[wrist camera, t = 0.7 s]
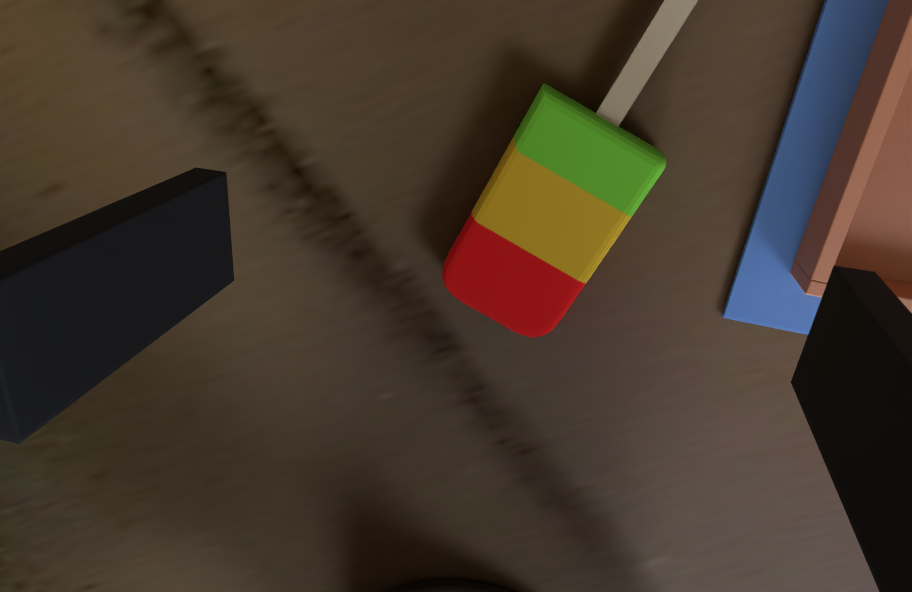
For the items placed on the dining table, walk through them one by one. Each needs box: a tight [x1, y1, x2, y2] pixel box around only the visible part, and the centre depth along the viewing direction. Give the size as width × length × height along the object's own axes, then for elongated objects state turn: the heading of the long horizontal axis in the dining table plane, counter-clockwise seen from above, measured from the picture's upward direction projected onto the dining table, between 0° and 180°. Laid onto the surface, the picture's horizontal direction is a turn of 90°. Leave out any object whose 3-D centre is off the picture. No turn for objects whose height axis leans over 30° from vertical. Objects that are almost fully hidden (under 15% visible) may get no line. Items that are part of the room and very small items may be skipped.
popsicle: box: [442, 0, 698, 337], centre depth 26 cm, size 6×15×2 cm, turn 152°
